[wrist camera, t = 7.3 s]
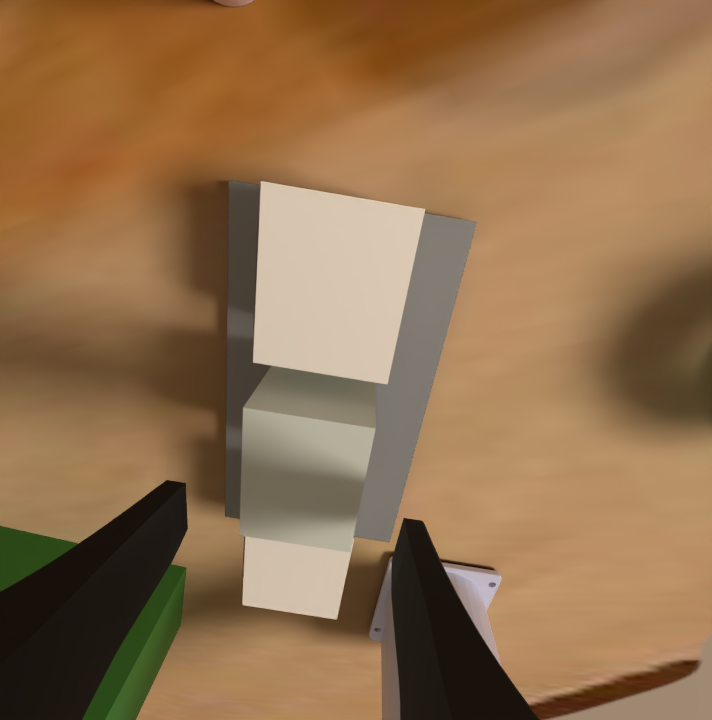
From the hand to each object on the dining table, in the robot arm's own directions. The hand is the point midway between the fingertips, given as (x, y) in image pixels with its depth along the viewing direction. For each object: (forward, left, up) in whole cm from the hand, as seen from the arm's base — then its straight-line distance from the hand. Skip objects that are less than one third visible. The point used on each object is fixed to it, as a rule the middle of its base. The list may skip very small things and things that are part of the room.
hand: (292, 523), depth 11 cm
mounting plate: (0, 0, -9) cm, 9 cm away
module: (0, 0, -8) cm, 8 cm away
